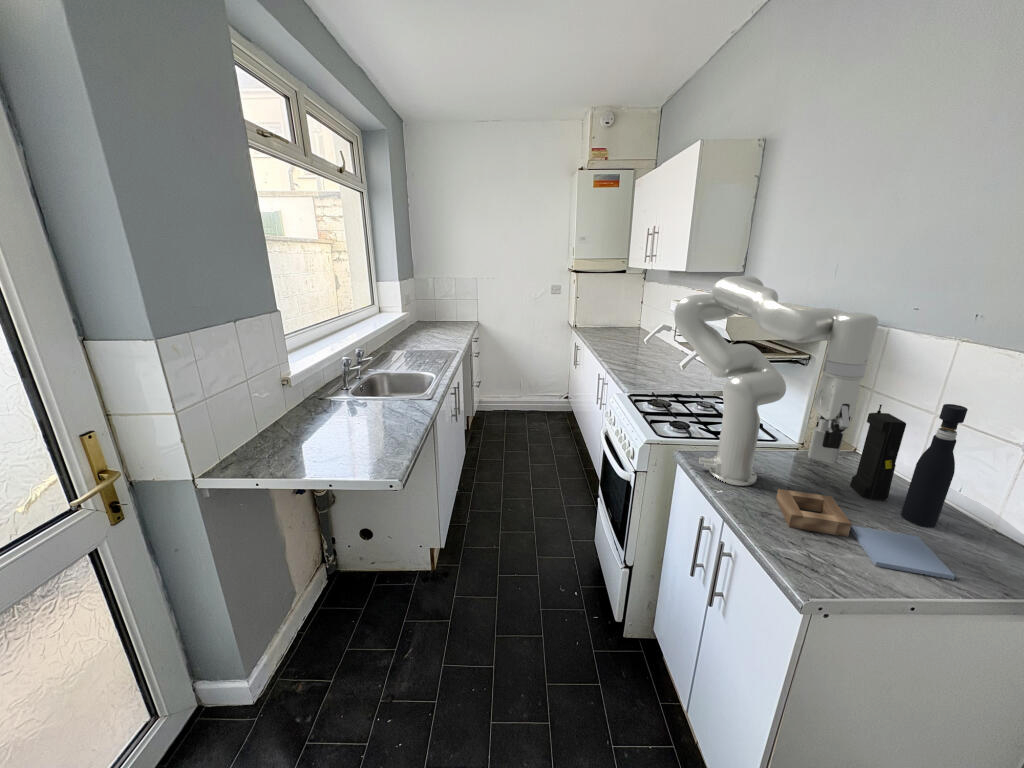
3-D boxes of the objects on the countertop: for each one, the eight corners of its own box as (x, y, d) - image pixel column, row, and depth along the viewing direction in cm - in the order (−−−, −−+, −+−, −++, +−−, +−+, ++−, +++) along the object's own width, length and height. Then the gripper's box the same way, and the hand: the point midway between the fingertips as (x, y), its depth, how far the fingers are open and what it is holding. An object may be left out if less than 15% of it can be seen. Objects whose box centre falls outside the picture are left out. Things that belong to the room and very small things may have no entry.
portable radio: (891, 503, 108) (918, 415, 101) (865, 501, 110) (890, 414, 102) (873, 487, 116) (896, 404, 108) (848, 485, 117) (870, 403, 110)
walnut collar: (788, 526, 100) (791, 514, 99) (775, 500, 111) (778, 488, 109) (847, 536, 96) (851, 523, 95) (828, 508, 107) (831, 496, 106)
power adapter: (810, 452, 102) (821, 407, 98) (837, 460, 98) (849, 413, 94) (806, 456, 100) (817, 410, 96) (834, 464, 96) (846, 417, 92)
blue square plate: (875, 565, 87) (876, 561, 87) (849, 528, 99) (850, 525, 98) (953, 580, 83) (955, 575, 83) (916, 539, 95) (918, 536, 94)
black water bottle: (893, 512, 105) (927, 402, 96) (917, 511, 105) (953, 401, 96) (918, 528, 99) (957, 412, 89) (943, 527, 99) (985, 411, 90)
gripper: (811, 358, 101) (796, 427, 106) (839, 377, 85) (819, 456, 91) (848, 361, 98) (830, 430, 104) (883, 381, 83) (860, 461, 89)
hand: (826, 441), depth 97 cm, fingers closed on power adapter, 4 cm apart
